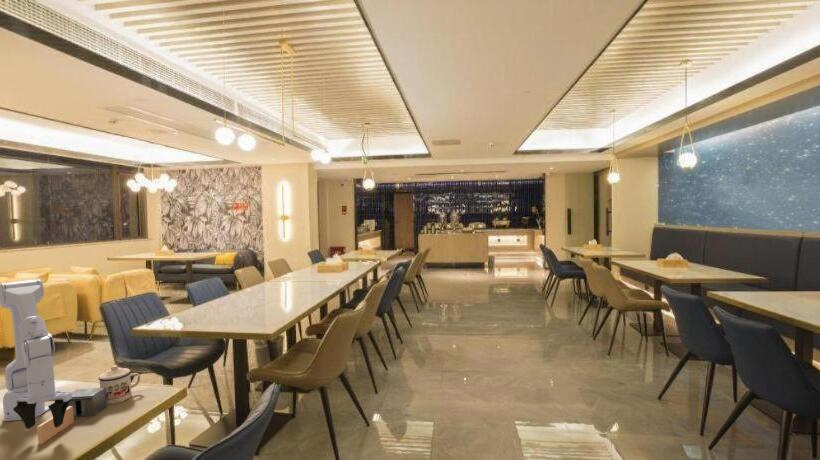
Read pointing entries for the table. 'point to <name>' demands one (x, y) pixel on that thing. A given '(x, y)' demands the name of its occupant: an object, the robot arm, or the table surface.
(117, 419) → the table surface
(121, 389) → the teacup with lid
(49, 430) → the long wooden plank
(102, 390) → the dispenser
